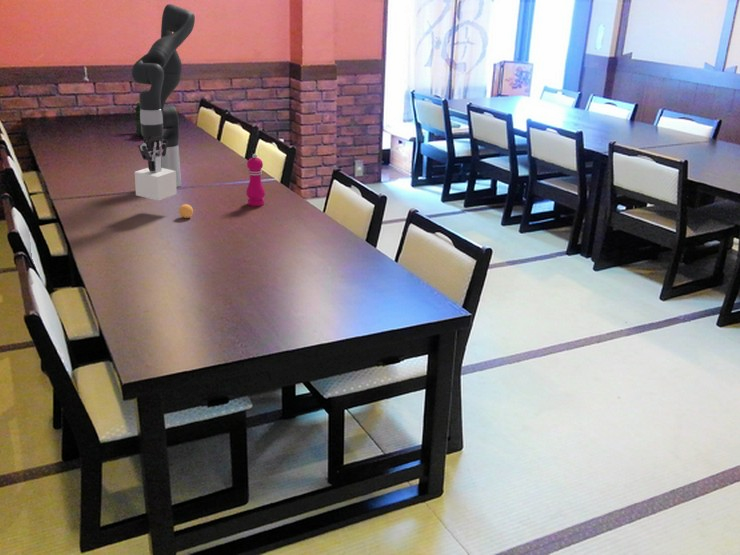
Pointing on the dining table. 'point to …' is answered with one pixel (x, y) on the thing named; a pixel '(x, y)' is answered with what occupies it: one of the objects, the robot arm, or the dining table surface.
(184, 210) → the ball
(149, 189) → the white cube bottle
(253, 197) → the pepper mill
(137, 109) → the toy figurine
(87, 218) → the dining table surface
